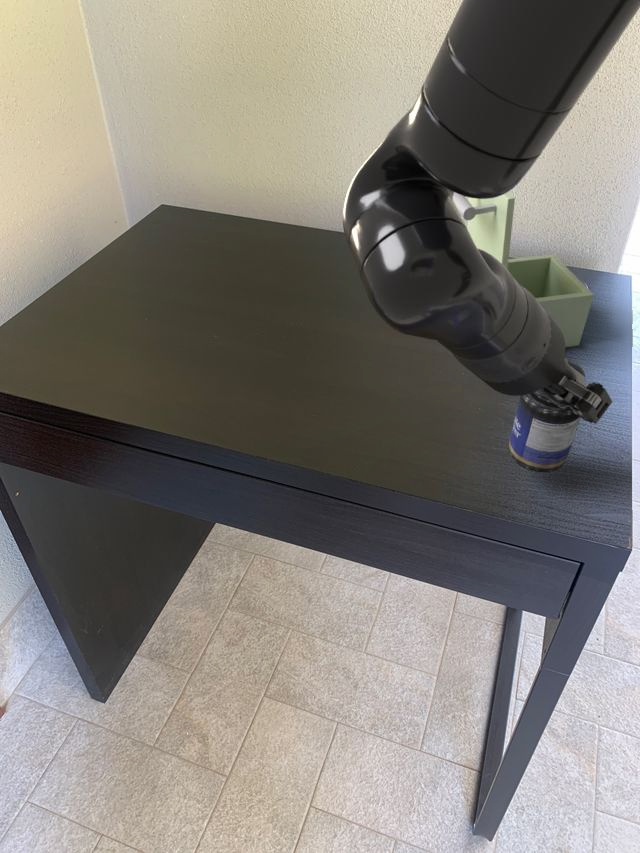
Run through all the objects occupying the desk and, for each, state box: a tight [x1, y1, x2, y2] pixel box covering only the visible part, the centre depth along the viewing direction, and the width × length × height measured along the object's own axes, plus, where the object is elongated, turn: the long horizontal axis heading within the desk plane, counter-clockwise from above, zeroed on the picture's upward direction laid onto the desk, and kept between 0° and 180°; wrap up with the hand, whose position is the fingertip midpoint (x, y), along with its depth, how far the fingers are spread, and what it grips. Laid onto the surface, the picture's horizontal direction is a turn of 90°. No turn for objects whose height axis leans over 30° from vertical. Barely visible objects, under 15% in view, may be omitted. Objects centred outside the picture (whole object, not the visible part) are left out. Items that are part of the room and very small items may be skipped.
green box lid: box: [453, 191, 516, 269], centre depth 85 cm, size 14×11×5 cm
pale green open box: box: [507, 253, 595, 348], centre depth 93 cm, size 13×11×8 cm
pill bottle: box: [507, 359, 586, 473], centre depth 69 cm, size 6×6×11 cm
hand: (562, 394), depth 68 cm, fingers closed on pill bottle, 6 cm apart
